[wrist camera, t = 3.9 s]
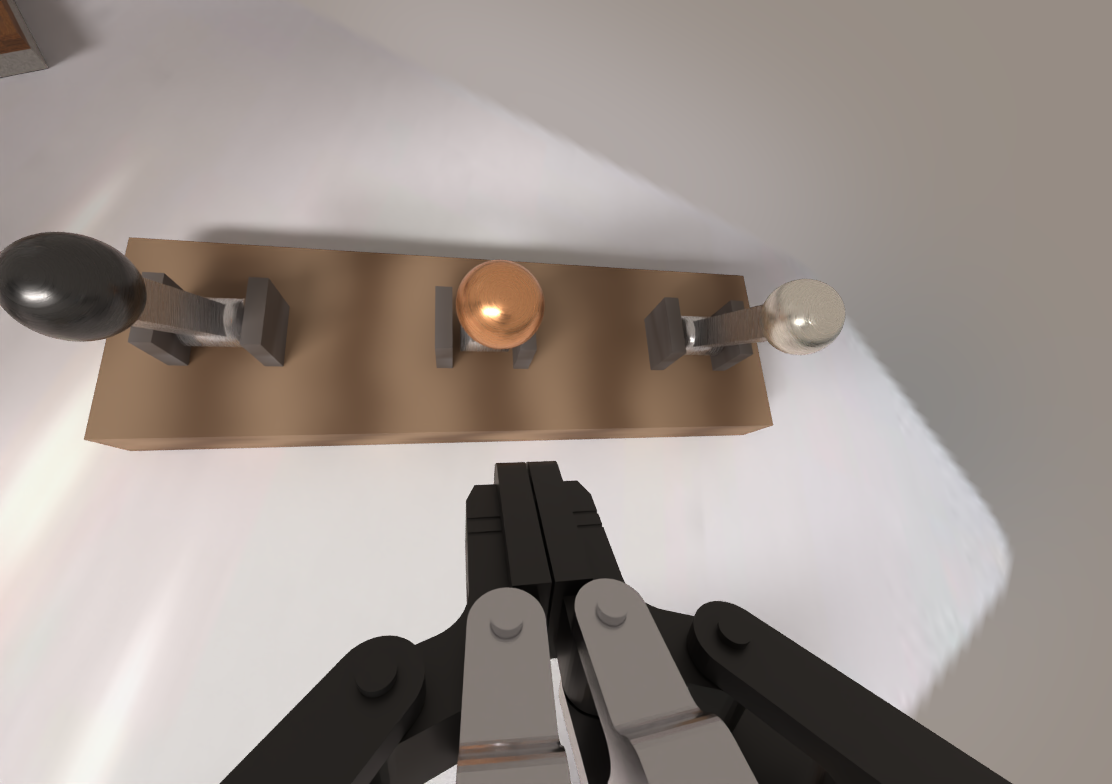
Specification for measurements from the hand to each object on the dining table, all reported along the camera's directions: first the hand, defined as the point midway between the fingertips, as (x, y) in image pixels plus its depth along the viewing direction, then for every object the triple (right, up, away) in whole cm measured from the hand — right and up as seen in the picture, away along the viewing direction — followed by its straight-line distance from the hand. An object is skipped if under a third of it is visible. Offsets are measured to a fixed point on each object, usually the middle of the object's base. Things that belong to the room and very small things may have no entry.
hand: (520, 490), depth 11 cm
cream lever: (+9, +6, +16) cm, 19 cm away
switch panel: (-4, +4, +16) cm, 17 cm away
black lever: (-15, +6, +10) cm, 19 cm away
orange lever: (-3, +6, +13) cm, 14 cm away
